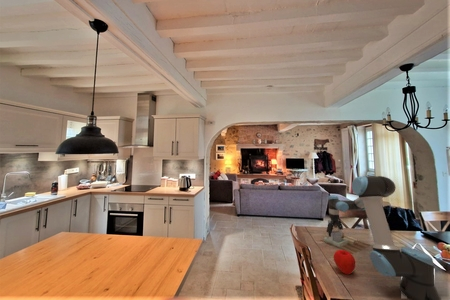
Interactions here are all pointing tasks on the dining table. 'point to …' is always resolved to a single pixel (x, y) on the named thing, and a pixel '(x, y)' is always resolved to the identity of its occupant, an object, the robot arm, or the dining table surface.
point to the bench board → (351, 246)
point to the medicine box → (336, 236)
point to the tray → (336, 242)
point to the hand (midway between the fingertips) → (335, 238)
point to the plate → (351, 240)
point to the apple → (344, 261)
